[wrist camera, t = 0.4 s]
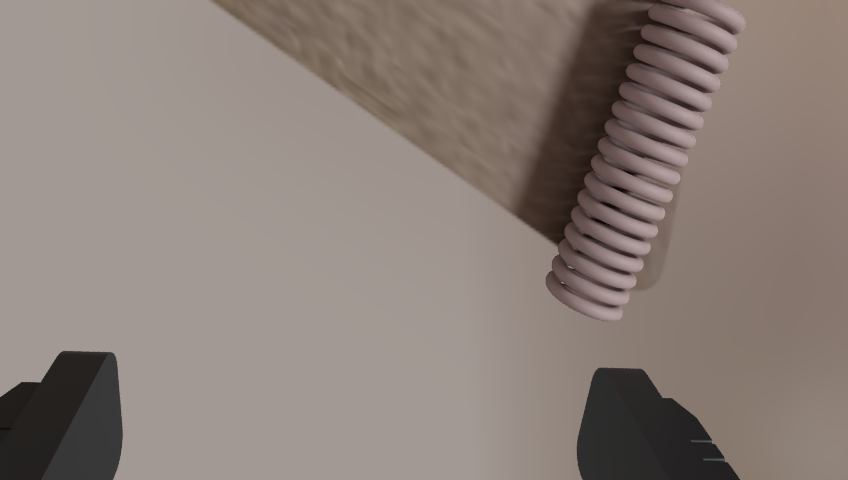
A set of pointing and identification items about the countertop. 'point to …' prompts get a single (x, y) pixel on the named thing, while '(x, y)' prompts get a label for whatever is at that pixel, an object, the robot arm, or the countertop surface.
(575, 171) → the countertop surface
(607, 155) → the coil
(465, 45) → the countertop surface
